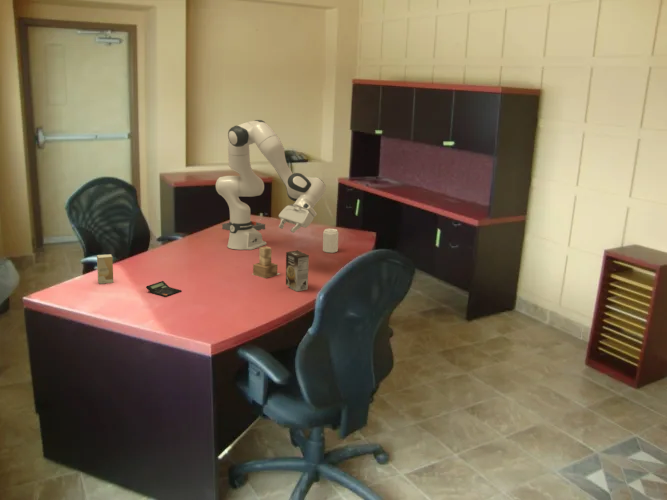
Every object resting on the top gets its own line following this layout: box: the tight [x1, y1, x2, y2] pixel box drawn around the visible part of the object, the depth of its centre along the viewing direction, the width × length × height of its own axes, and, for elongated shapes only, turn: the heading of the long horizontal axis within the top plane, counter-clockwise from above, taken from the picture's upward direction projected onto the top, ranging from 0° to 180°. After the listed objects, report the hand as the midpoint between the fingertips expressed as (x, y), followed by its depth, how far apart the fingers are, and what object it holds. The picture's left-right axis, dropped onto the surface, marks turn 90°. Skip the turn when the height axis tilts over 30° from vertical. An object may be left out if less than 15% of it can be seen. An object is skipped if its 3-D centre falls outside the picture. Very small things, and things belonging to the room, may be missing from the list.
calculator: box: [145, 280, 183, 298], centre depth 273 cm, size 9×12×3 cm
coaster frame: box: [221, 220, 266, 231], centre depth 389 cm, size 18×18×3 cm
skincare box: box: [96, 254, 114, 285], centre depth 281 cm, size 6×4×12 cm
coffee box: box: [285, 250, 310, 292], centre depth 281 cm, size 9×6×16 cm
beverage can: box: [322, 228, 339, 254], centre depth 343 cm, size 8×8×12 cm
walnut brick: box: [252, 262, 278, 279], centre depth 297 cm, size 8×8×5 cm
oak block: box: [258, 245, 272, 266], centre depth 296 cm, size 4×4×8 cm
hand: (285, 229), depth 300 cm, fingers open, 8 cm apart
